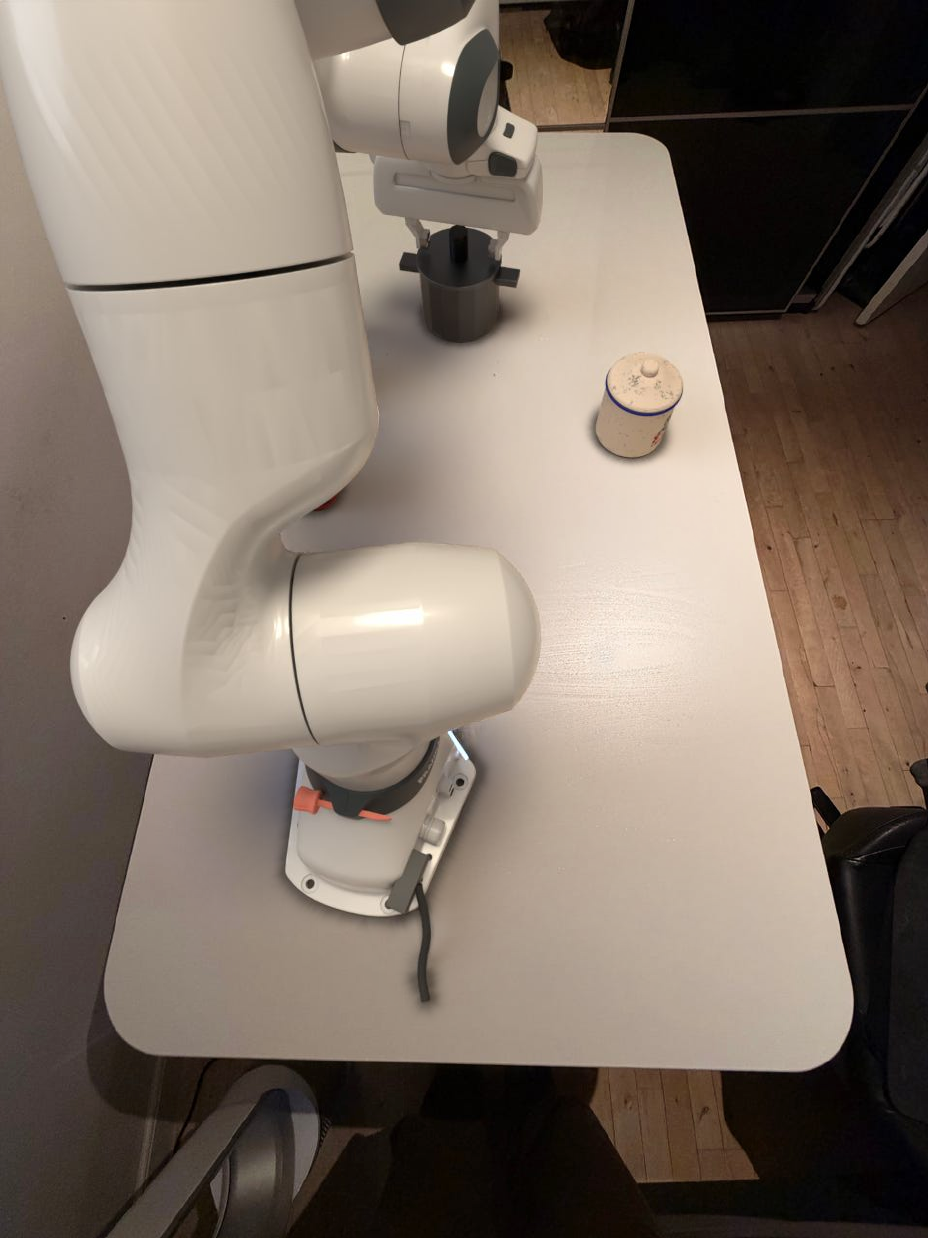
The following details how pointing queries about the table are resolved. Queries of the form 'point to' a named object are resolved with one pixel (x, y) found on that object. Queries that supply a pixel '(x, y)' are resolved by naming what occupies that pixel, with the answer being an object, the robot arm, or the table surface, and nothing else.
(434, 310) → the pot
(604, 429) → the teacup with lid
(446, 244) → the lid
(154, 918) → the table surface
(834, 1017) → the table surface
